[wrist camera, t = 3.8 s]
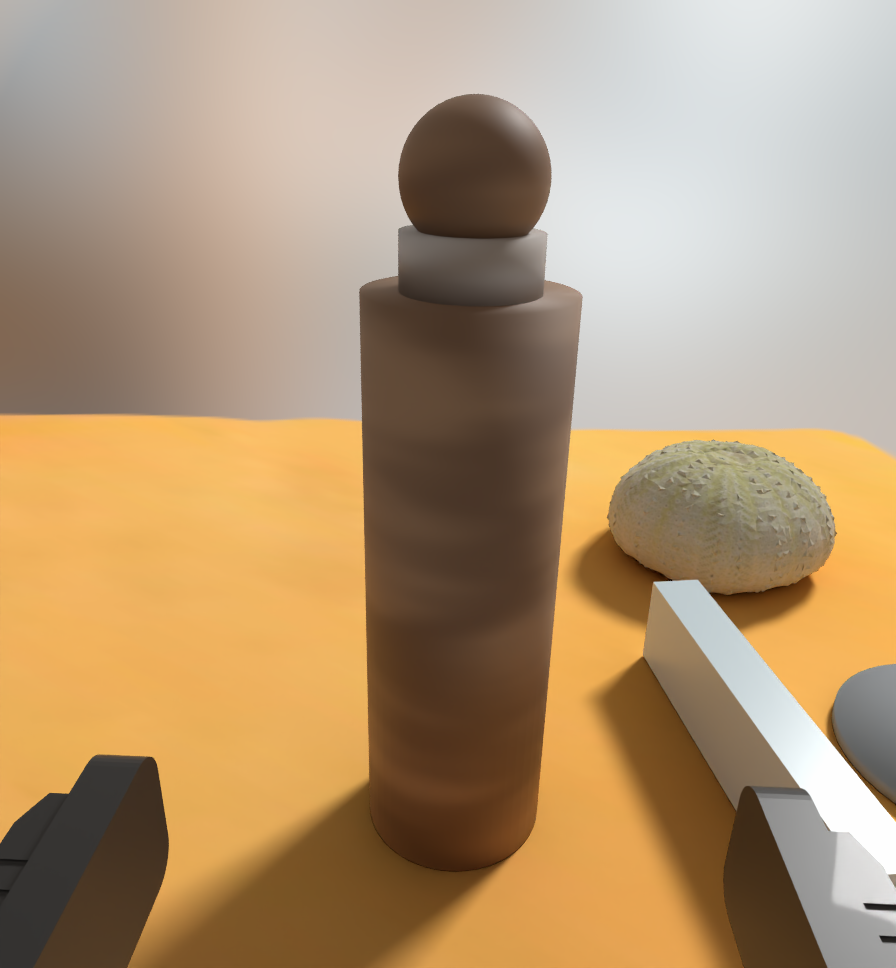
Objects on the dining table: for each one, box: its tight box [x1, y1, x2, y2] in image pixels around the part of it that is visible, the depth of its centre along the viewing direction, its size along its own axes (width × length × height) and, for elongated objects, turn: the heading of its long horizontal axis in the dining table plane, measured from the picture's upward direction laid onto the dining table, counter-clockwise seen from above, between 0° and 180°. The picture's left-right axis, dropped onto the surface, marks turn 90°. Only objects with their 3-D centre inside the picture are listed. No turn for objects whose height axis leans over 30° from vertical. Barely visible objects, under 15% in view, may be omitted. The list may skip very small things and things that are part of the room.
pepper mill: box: [359, 94, 582, 871], centre depth 19 cm, size 5×5×18 cm
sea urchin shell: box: [607, 440, 837, 595], centre depth 36 cm, size 9×8×8 cm
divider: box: [643, 580, 896, 889], centre depth 23 cm, size 2×12×3 cm, turn 8°
